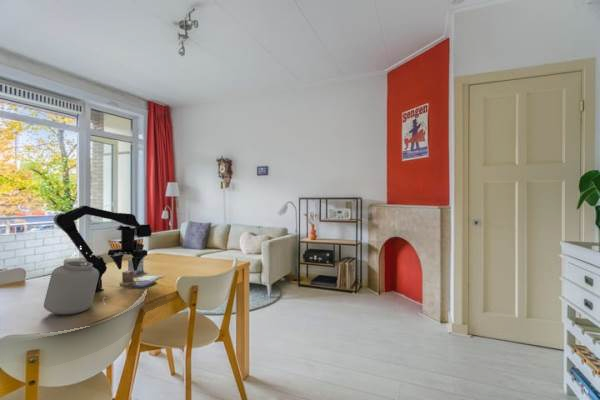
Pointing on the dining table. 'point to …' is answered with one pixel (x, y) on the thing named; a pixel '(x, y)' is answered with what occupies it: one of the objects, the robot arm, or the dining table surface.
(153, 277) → the mat
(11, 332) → the dining table surface
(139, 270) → the medicine box
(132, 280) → the stamp
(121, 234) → the robot arm
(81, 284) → the jar
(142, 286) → the ink pad
